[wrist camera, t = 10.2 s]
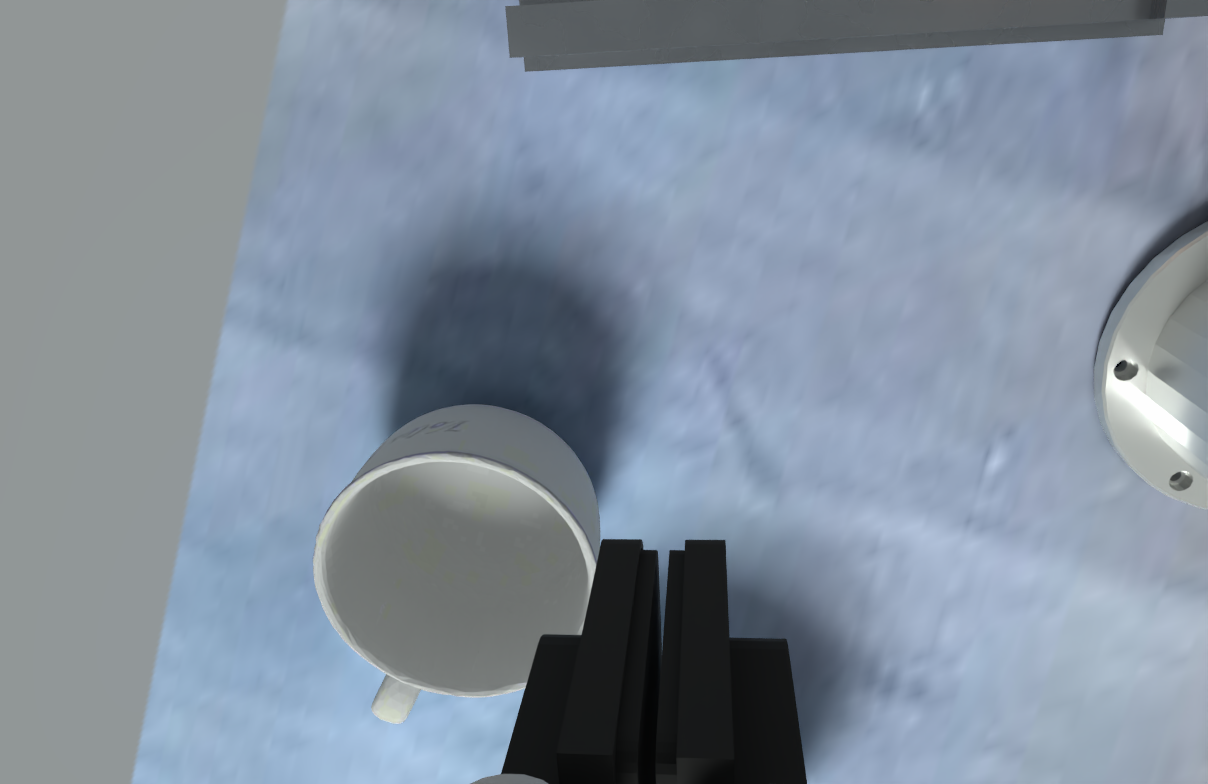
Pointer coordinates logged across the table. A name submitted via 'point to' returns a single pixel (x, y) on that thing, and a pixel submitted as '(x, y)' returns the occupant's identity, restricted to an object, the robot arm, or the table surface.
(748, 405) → the table surface
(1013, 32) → the chute
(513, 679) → the teacup
